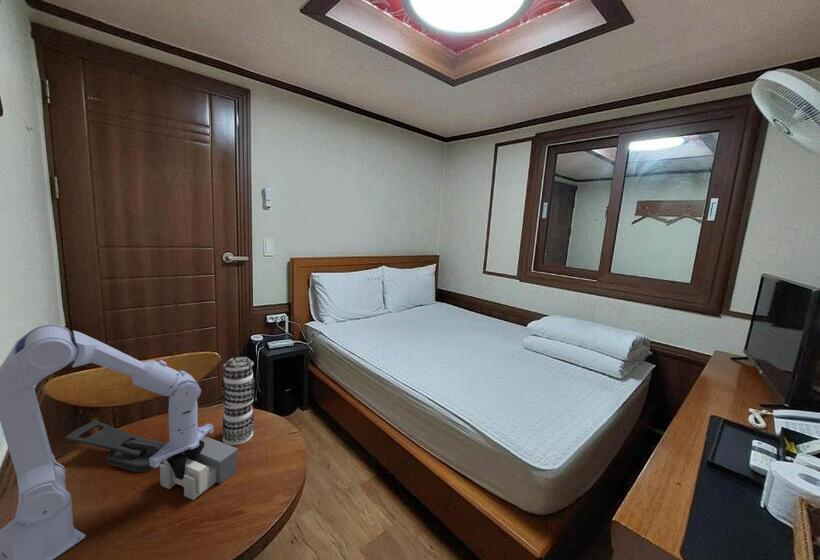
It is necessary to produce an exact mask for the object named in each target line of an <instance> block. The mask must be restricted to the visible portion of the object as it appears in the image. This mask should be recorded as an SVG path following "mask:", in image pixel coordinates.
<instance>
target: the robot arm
mask: <svg viewBox="0 0 820 560" xmlns="http://www.w3.org/2000/svg"><path fill="white" fill-rule="evenodd" d="M72 332H73V333H72ZM72 332H71V330H69V329H68V328H67V327H65V326H63V325H60V324H53V323H52V324H51V323H49V324H48V323H47V324H42V325H40V326H37V327H35V328H33V329H31V330H30V331H28V332H27V333H25V334H24V335H22V337H20V338H19V339H18V340H16V341H15V343H14V345H13V347H12V349H11V351H10V352H9V353H8V355H7V356H6V358H5V360H4V361H3V362H2V364H1V365H0V425H1V429H2V433H3V435H4V438H5V442H6V445H7V448H8V452H9V454H10V457H11V461H12V464H13V467H14V468H13V469H14V471H15V474H16V481H17V489H18V491H17V492H18V498H17V499H18V500H17V509H16V512H15V515H14V518H13V519H12V520H11V521H9V523H7V524H6V525H4V526H2V528H0V560H55V559H56V558H58V557H59V556H61V555H63V553H64V552H65V553H66V551H69V549H71V548H72V547H74V546H75V545H76V544H78V543H80V541H82V540H83V539H85V538H86V534H85V533H83V532H81V531H80V530H79V529H76V528H75V527H74V516H73V515H74V514H73V505H72V504H73V503H72V494H71V492H69V491H68V490H67V485H66V473H67V471H66V468H65V467H64V465H63V464H61V463H59V462H58V461H57V460H56V457H55V455H54V454H53V452H52V449H51V444H50V442H49V438H48V435H47V431H46V427H45V423H44V419H43V415H42V411H41V409H40V404H39V402H38V398H37V394H36V389H35V386H37V385H38V384H39V383H40V382H41V381H42V380H43V379H45V378H46V377H49V376H50V375H52V374H54V373H56V372H58V371H59V370H62V369H63V368H65V367H67V366H68V365H70V364H71V368H77V367H80V366H85V365H89V364H95V365H98V366H100V367H102V368H106V369H109V370H112V371H115V372H116V373H121V374H123V375H126V376H130V377H131V379H132V384H133V385H134V386H135V387H136V386H137V387H139V388H141V389H144V390H147V391H149V392H151V393H155V394H157V395H160V396H161V397H168V412H167V413H168V439H169V440H168V442H166V443H167V444H166V445H165V446H164V447H163V448H162V449H160V450H159V451H158V452H157V453H156V454H155V455H153V456H152V457H150V458H149V461H150V466H152V467H154V468H155V469H157V468H158V467H160V463H161V462H163V461H165V460H166V461H167V462H168V463H169V464H170V466H171V468H172V469H173V472H174V474H175V478H178V479H180V480H182V479H183V478H184V475H185V463H186V459H187V458H188V459H191V460H193V461H196V462H197V459H198V457H199V454H200V452H201V451H202V449H203V448H204V442H203V441H201V439H202V438H203V437H204V436H207V435H208V434H209V435H210V434H212V433H214V425H213V424H211V423H205V424H204V425H202V426H199V424H198V422H199V421H198V419H199V416H198V415H199V414H198V411H199V410H198V408H199V407H198V398H199V397H200V395H201V393H202V388H201V387H200V385H199V383H198V381H196V380H195V378H194V377H193V376H192V375H191V374H190V373H188V372H187V371H184V370H181V369H180V370H176V369H174V368H172V367H170V366H167V365H168V363H167V362H166V361H164V360H162V359H160V360H158V361H157V360H155V359H151V360H146V361H140V360H139V359H137V358H134V357H133V356H131V355H128V354H127V353H124V352H122V351H120V350H119V349H116V348H115V347H112V346H110V345H108V344H106V343H104V342H102V341H100V340H99V339H96V338H93V337H91V336H89V335H87V334H84V333H82V332H81V331H76V330H72ZM183 453H184V454H183Z"/></svg>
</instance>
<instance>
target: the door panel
mask: <svg viewBox="0 0 820 560" xmlns="http://www.w3.org/2000/svg"><path fill="white" fill-rule="evenodd" d="M163 464H164V465H166V466H169V467H171V466H170V464H169V463H168V462H167V461H166V460H165V461H164V463H163ZM185 474H187V475H190V476H192V477H194V478H195V484H196V493H199V494H200V493H202V492H203V491H204V490H205V489H207V466H206V465H203V464H201V463H198V462H196V461H193V460H191V459H188V458H187V459H186V463H185ZM171 480H172V482H174V483H176V485H179V486H182V487H183V488H184V478H183V479H182V480H180V479H178V478H175V474H174V472H173V469H172V468H171ZM207 490H208V489H207ZM204 492H205V491H204ZM204 492H203V493H204ZM203 493H202V494H203Z"/></svg>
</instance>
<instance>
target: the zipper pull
mask: <svg viewBox="0 0 820 560" xmlns="http://www.w3.org/2000/svg"><path fill="white" fill-rule="evenodd" d="M96 428H99V429H100V430H99V431H97V432H95V433H93V434H91V435H89V436H88V437H84V438H83V437H80V436H82V435H84V434H86V433H87V432H89V431H91V430H93V429H94V430H95V429H96ZM65 441H68V442H73V443H78V444H82V445H88V446H91V447H97V448H101V449H104V450H105V449H106V450H109V451H108V453H107V454H106V456H105V459H106V460H105V461H106V464H107V465H110V466H114V467H117V468H121V469H125V470H128V471H131V472H136V473H143V472H151V471H153V470H155V469H156V468H154V467H152V466H150V461H149V458H150V457H152V456H153V455H155V454H156V453H157V452H158V451H159V450H160V449H162V448H163V447H164V446H165V445H166V444H167V443H168V442H162V441H158V440H155V439H154V440H153V439H149V438H146V437H142V436H138V435H136V434H132V433H131V432H127V431H124V430H122V429H119V428H117V427H116V428H115V427H114V426H111V425H108V424H105V423H103V422H101V421H97V420H93V421H91V422H88V423H87V424H84V425H82V426H80V427H79V428H77V429H75V430H74V431H72V432H70V433H69V434H68V435H66V436H65ZM161 464H164V461H163V462H161V463H160V465H161Z"/></svg>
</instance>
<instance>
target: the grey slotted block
mask: <svg viewBox="0 0 820 560" xmlns="http://www.w3.org/2000/svg"><path fill="white" fill-rule="evenodd" d="M201 441H203V442H204V448H203V449H202V451H201V452H200V454H199V457H198V459H197V462H198V463H201V464H203V465H206V466H207V489H205V490H204V491H203V492H202V493H200V494H199V493H196V484H195V478H194V477H192V476H190V475H187V474H185V475H184V487H183V492H184V493H183V497H186V498H188V499H190V500H192V501H195V500H196V499H197V498H198V497H200V496H201V495H202V494H203V493H205V492H206V491H207V490H208V489H209V488H211V487H212V486H213V485H214V484H220V485H221V484H222V483H224V482H225V481H227V480H228V479H229V478H230V477H231V476H232V475H233V474H235V473H236V472H237V468H238V467H237V465H238V464H237V463H238V461H237V460H238V459H237V456H238V454H237V453H238V451H239V448H237V447H235V446H234V445H228V444H225V443H224V442H223V441H222V442H221V441H219V440H217V439H213V438H210V437H208V436H207V435H205V436H204V437H203V438H202V439H201ZM183 454H184V453H183ZM159 474H160V475H159V477H160V478H159V479H160V481H159V482H160V486H161V487H163V488H166V489H168V490H170V489H172V488H173V487H174V486H176V485H177V484H176V483H174V482H172V480H171V467H169V466H166V465H164V463H163V464H161V465H160V466H159Z"/></svg>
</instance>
